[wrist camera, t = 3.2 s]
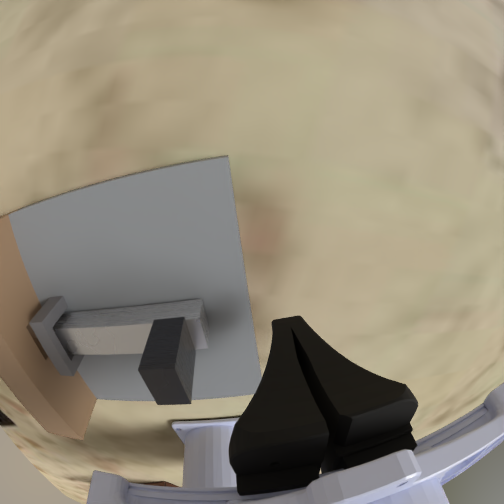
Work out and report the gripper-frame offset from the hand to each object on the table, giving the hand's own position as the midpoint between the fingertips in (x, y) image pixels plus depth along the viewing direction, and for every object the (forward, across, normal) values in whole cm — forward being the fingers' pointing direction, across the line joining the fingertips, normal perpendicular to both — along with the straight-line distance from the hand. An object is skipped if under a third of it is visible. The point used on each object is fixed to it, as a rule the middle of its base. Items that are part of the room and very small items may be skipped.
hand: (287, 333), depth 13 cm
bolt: (+3, +9, 0) cm, 9 cm away
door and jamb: (+4, +11, 0) cm, 11 cm away
